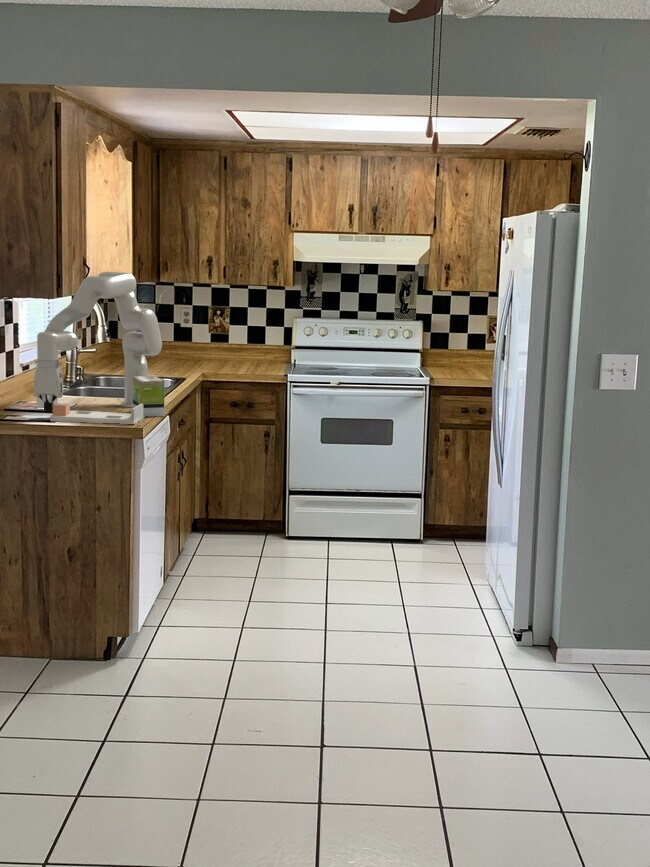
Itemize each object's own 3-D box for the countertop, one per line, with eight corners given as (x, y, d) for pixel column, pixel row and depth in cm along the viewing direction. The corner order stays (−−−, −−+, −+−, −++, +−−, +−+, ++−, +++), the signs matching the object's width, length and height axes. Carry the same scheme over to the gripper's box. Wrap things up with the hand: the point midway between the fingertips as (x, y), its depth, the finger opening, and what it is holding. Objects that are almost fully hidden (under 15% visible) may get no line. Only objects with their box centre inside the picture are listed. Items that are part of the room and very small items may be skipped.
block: (57, 413, 366) (57, 403, 365) (69, 413, 366) (69, 403, 365) (52, 415, 361) (52, 404, 360) (65, 415, 361) (65, 405, 360)
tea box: (131, 411, 391) (131, 375, 388) (155, 411, 395) (156, 375, 392) (140, 417, 377) (140, 380, 374) (165, 416, 381) (165, 380, 379)
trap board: (63, 415, 375) (62, 400, 374) (143, 418, 373) (143, 403, 372) (50, 421, 360) (50, 405, 359) (133, 424, 359) (133, 409, 358)
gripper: (70, 364, 364) (70, 412, 367) (32, 362, 365) (32, 410, 368) (64, 366, 356) (64, 414, 360) (24, 364, 357) (25, 413, 360)
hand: (48, 412), depth 364 cm, fingers closed
